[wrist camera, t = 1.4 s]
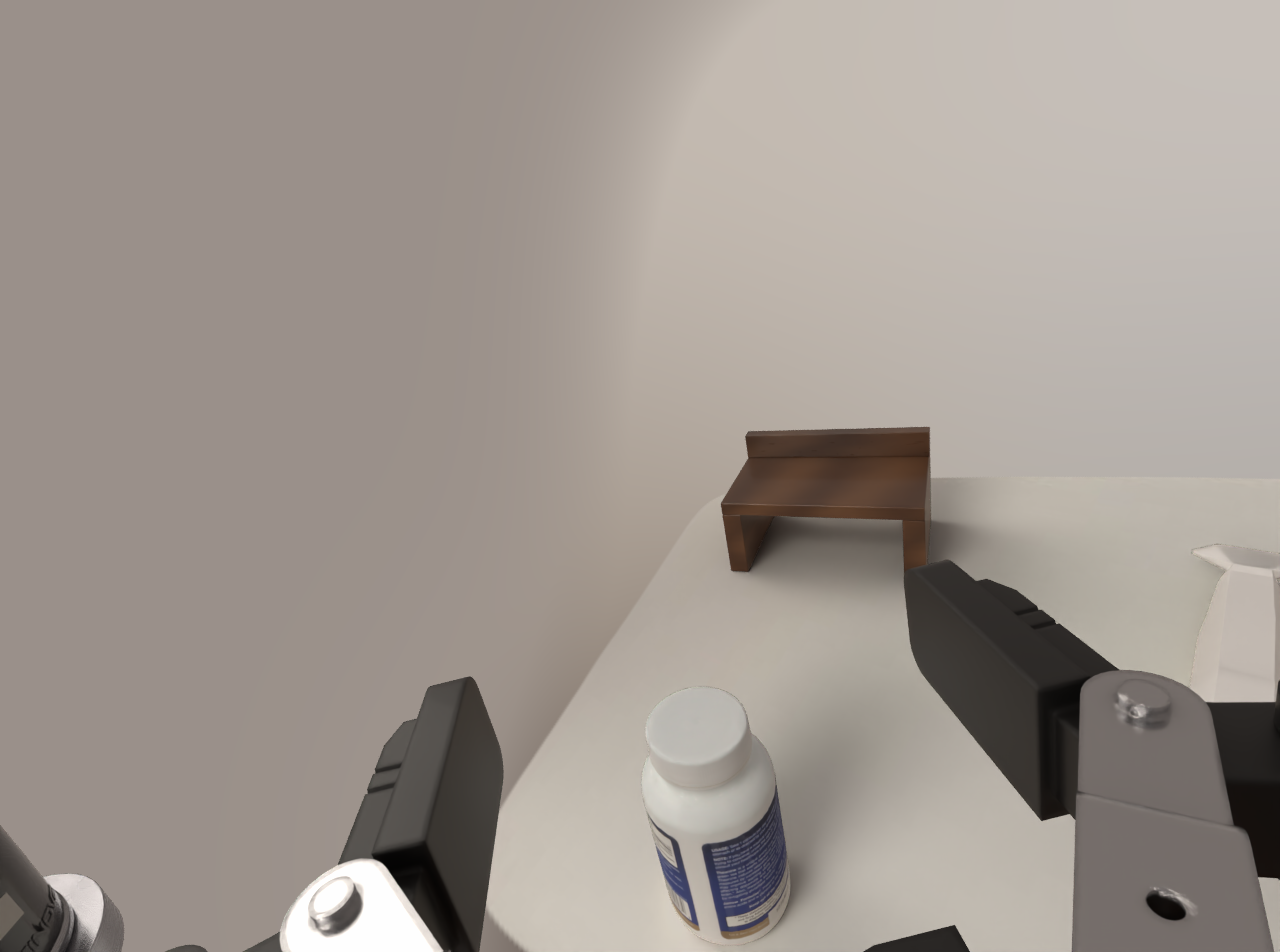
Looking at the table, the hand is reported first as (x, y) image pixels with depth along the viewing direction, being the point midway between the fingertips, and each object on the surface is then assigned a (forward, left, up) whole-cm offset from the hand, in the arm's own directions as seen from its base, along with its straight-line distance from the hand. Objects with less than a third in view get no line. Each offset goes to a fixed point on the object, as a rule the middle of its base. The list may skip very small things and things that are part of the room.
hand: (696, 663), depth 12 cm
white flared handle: (+31, +5, -21) cm, 38 cm away
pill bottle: (+3, +9, -21) cm, 23 cm away
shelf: (+24, +29, -21) cm, 43 cm away
